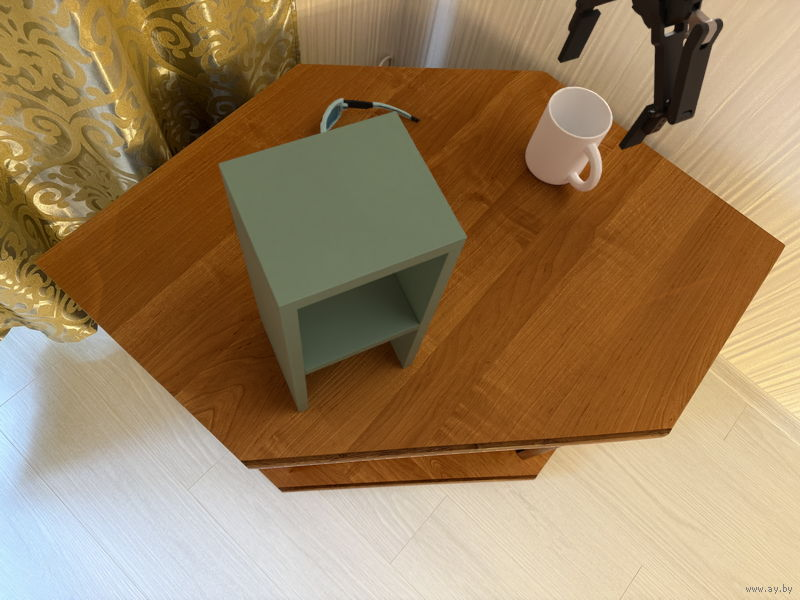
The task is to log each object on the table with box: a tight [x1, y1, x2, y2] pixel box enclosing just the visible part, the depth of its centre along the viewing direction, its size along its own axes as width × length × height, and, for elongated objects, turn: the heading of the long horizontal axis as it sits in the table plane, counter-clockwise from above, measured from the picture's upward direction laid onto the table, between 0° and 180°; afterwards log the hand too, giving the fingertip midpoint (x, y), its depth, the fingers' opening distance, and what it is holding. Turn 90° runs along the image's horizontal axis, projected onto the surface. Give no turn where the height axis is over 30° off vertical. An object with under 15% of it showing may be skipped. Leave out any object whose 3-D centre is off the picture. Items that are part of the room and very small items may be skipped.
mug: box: [524, 86, 613, 193], centre depth 78 cm, size 12×8×10 cm
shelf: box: [218, 111, 468, 413], centre depth 56 cm, size 12×14×30 cm
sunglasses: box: [319, 97, 421, 133], centre depth 79 cm, size 14×15×5 cm
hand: (597, 100), depth 70 cm, fingers open, 13 cm apart
